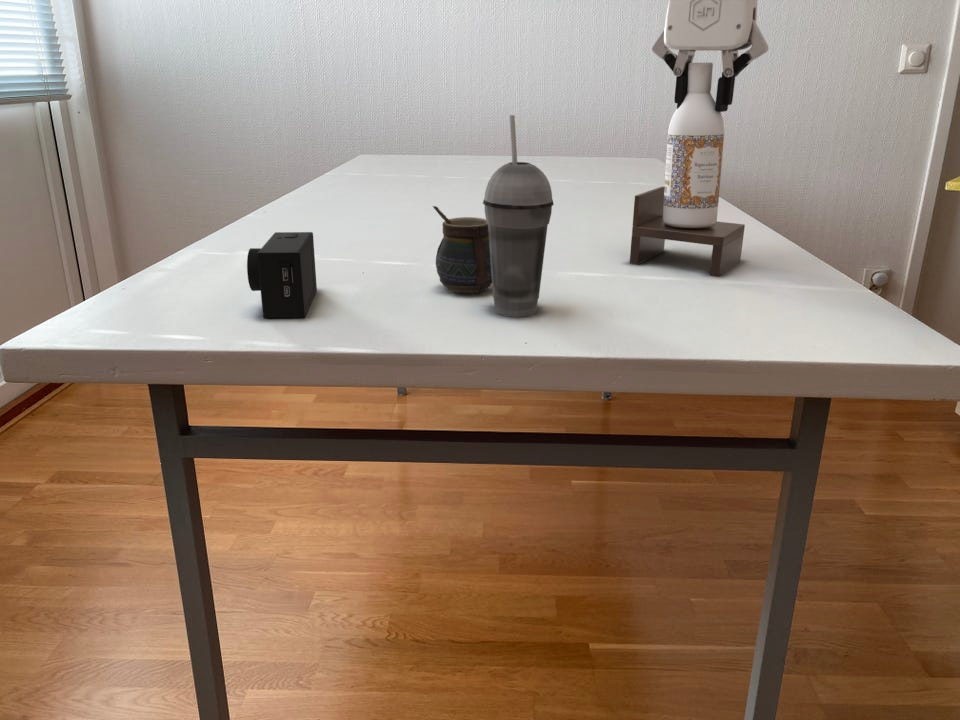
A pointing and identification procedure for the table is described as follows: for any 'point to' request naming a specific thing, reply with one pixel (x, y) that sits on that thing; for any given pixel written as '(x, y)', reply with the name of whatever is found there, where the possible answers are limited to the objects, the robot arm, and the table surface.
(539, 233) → the beverage cup
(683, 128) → the bath foam
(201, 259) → the table surface
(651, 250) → the chair
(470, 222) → the mate gourd
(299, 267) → the digital camera
